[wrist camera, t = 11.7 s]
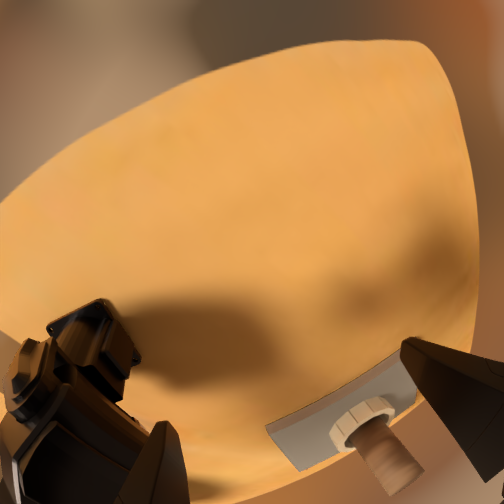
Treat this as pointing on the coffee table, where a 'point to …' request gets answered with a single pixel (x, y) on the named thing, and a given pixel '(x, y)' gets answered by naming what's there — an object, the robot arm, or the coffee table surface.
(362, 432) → the walnut column
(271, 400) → the coffee table surface
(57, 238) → the coffee table surface
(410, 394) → the base board
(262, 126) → the coffee table surface
